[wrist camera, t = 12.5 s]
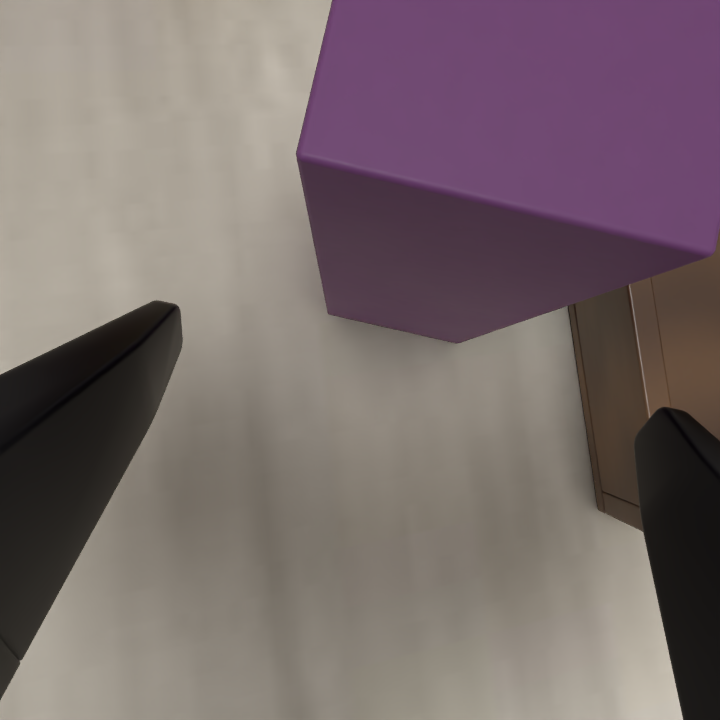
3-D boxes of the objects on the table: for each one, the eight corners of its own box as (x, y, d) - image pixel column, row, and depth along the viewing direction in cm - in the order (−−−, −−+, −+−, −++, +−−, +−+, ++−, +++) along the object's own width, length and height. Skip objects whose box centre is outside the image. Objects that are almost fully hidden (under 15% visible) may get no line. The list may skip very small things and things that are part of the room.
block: (458, 344, 19) (717, 256, 6) (327, 314, 19) (293, 156, 6) (486, 214, 19) (793, -143, 6) (356, 184, 19) (389, -247, 6)
